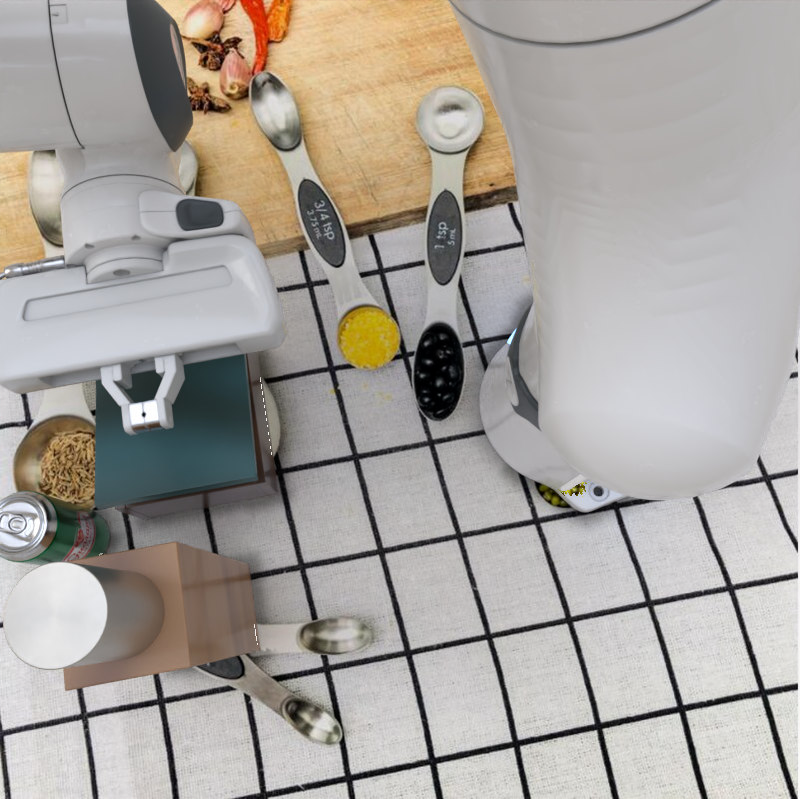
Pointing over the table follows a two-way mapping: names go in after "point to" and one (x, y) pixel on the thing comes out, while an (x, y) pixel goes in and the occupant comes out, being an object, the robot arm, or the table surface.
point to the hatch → (178, 437)
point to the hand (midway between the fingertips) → (149, 430)
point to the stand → (181, 612)
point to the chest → (234, 492)
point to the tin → (81, 615)
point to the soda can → (49, 530)
